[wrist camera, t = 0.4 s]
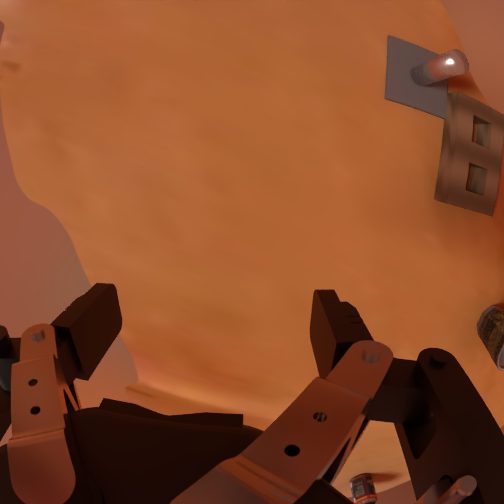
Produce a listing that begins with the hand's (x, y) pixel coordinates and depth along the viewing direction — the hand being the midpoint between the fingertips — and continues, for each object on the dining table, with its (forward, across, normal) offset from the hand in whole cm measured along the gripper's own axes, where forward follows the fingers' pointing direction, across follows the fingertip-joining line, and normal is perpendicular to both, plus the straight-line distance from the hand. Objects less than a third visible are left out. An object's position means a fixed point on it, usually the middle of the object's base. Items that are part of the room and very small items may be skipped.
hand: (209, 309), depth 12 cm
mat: (+28, -24, -19) cm, 41 cm away
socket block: (+28, -33, -9) cm, 44 cm away
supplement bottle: (+27, -30, +70) cm, 81 cm away
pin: (+28, -24, -19) cm, 41 cm away
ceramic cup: (+28, -46, +19) cm, 57 cm away
